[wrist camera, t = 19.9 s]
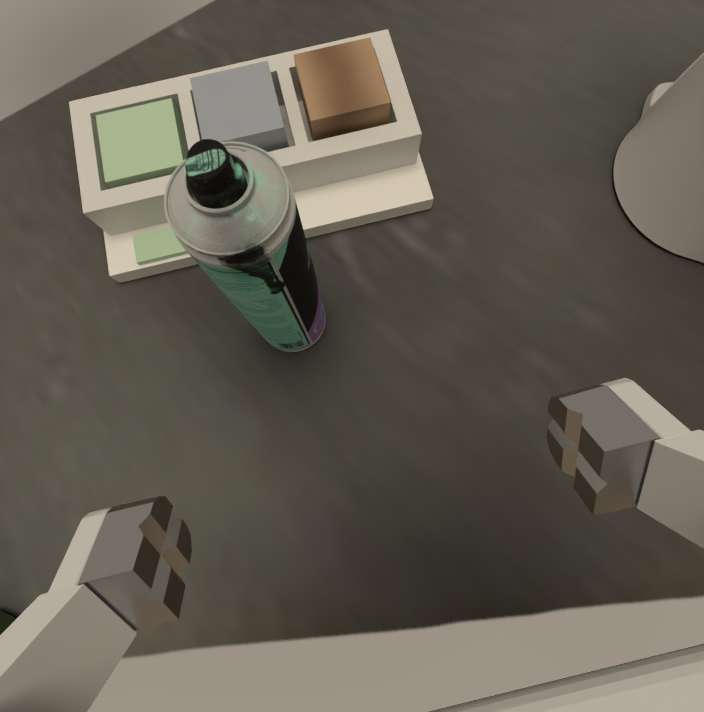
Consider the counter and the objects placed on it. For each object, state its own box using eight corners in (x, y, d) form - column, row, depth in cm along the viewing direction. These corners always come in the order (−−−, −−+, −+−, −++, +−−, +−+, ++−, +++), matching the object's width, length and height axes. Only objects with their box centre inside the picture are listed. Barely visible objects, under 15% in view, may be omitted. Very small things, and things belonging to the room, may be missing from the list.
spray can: (340, 322, 35) (312, 162, 15) (288, 366, 34) (190, 257, 15) (297, 275, 36) (220, 68, 16) (245, 316, 35) (101, 152, 16)
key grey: (276, 97, 36) (267, 60, 33) (291, 158, 35) (284, 127, 31) (206, 113, 36) (189, 78, 32) (219, 175, 35) (203, 145, 31)
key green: (189, 130, 37) (171, 98, 34) (200, 190, 36) (183, 163, 32) (120, 146, 37) (95, 115, 33) (129, 207, 36) (105, 182, 32)
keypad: (388, 75, 40) (392, 22, 35) (430, 208, 37) (441, 172, 32) (99, 141, 39) (62, 97, 34) (119, 283, 36) (81, 257, 31)
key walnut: (369, 75, 36) (370, 37, 33) (387, 136, 35) (390, 102, 32) (300, 91, 36) (293, 54, 33) (315, 153, 35) (310, 120, 31)
